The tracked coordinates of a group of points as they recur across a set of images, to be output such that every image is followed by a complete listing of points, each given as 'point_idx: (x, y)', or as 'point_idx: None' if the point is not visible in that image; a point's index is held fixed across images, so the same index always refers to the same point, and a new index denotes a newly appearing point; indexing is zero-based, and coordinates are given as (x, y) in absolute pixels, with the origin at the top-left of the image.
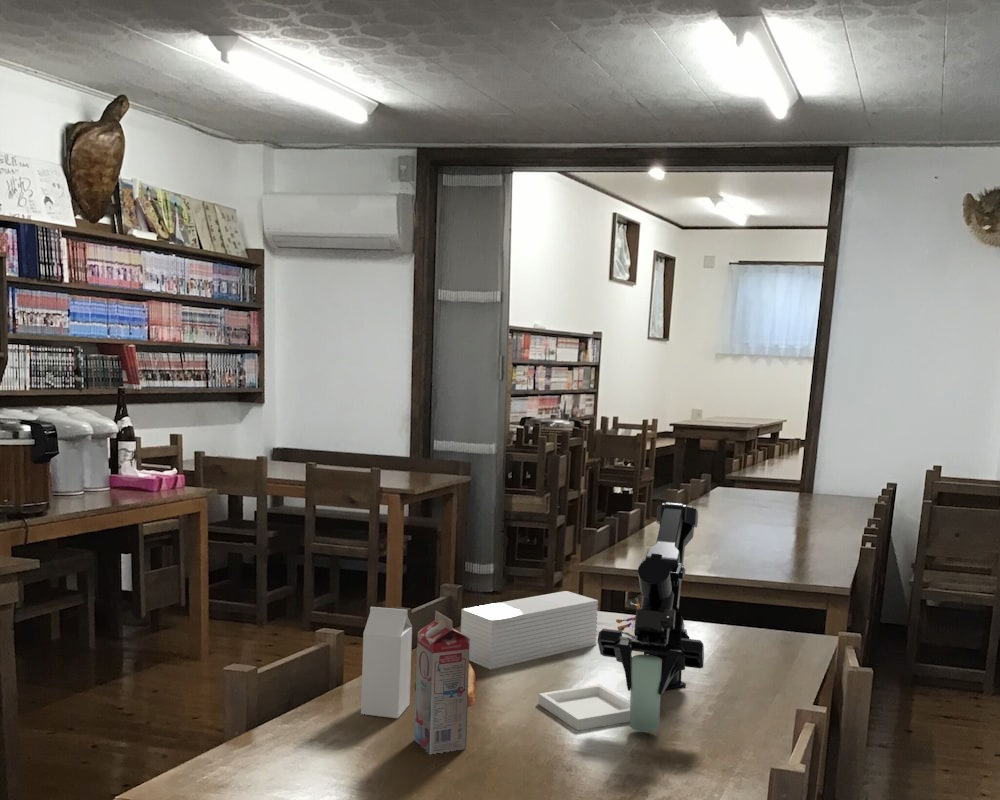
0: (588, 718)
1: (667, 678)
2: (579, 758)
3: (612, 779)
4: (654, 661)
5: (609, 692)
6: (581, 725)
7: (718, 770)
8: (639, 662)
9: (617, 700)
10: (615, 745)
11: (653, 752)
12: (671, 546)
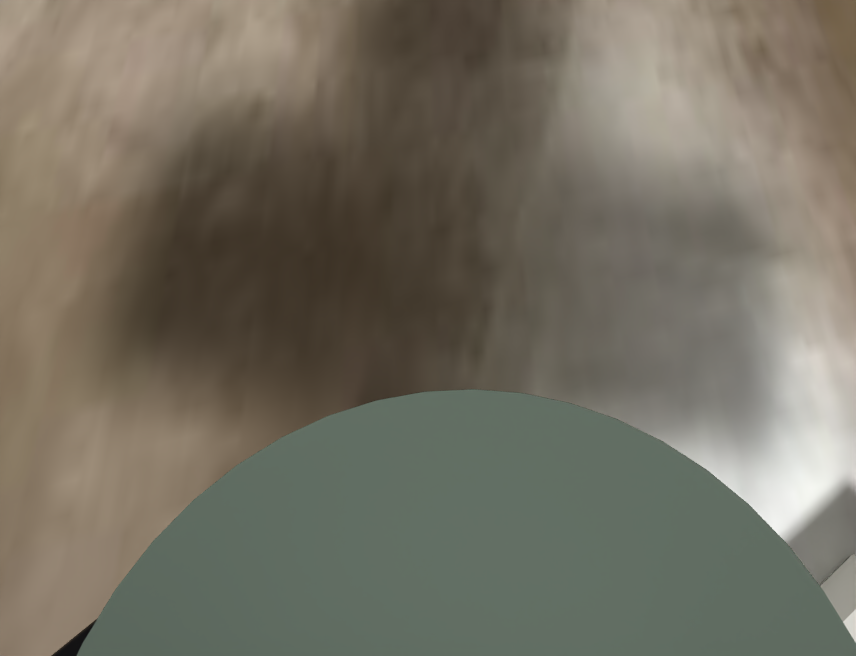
0: (844, 618)
1: (77, 639)
2: (740, 172)
3: (551, 4)
4: (262, 650)
5: None
6: (854, 573)
7: (17, 185)
8: (657, 446)
9: None
10: (583, 378)
11: (358, 332)
12: None
